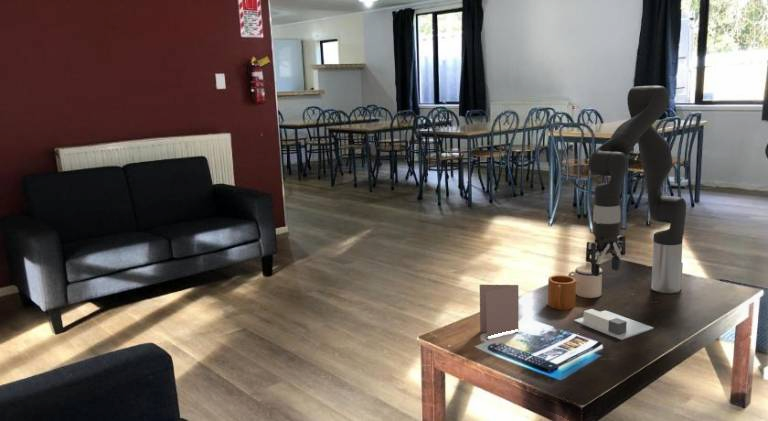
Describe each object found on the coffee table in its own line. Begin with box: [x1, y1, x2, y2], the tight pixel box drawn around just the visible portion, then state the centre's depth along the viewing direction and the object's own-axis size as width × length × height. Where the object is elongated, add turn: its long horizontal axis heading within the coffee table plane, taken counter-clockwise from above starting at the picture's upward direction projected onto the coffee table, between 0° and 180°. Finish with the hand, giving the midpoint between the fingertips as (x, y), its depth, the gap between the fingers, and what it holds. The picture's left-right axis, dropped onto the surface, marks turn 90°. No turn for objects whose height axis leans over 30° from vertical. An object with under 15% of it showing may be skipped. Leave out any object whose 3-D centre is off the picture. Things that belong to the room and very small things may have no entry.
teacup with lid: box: [567, 261, 603, 299], centre depth 221 cm, size 12×9×12 cm
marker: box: [582, 308, 627, 335], centre depth 192 cm, size 14×3×3 cm, turn 30°
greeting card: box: [479, 284, 519, 338], centre depth 188 cm, size 11×7×15 cm, turn 80°
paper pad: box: [573, 310, 654, 341], centre depth 194 cm, size 14×18×1 cm
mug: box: [547, 274, 577, 310], centre depth 210 cm, size 9×12×9 cm
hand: (605, 272), depth 188 cm, fingers open, 8 cm apart
